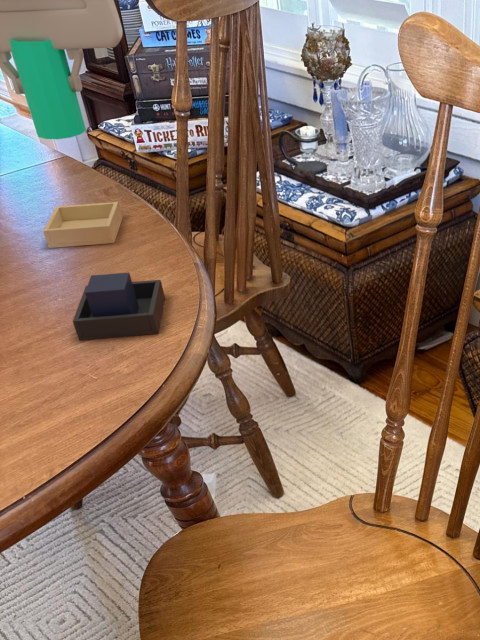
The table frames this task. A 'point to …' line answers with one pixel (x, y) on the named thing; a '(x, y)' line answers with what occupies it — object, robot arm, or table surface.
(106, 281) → the navy block
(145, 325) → the slate tray
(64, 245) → the cream tray
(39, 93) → the candle
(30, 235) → the table surface
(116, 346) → the table surface
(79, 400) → the table surface
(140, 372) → the table surface
